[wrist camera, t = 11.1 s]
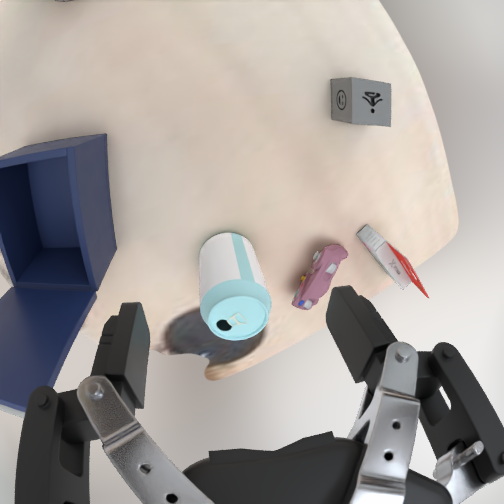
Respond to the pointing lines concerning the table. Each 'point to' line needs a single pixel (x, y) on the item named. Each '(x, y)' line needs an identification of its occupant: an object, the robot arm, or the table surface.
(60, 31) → the table surface
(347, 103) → the dice cube
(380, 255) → the ink box
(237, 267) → the can
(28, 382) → the lid
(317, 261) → the video game controller
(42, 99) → the table surface
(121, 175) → the table surface
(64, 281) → the chest
